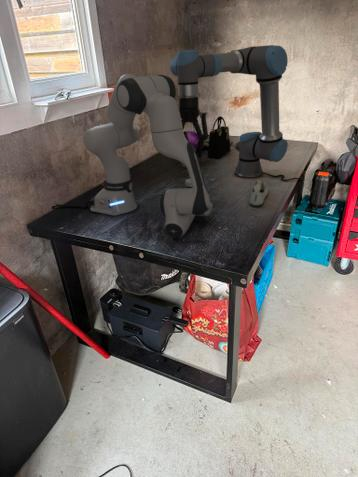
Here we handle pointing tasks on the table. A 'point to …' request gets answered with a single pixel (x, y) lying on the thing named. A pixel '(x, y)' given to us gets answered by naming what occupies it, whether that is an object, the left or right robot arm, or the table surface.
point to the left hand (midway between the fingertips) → (192, 199)
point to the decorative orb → (193, 139)
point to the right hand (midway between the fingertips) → (190, 156)
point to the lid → (188, 183)
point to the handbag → (219, 140)
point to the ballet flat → (258, 193)
